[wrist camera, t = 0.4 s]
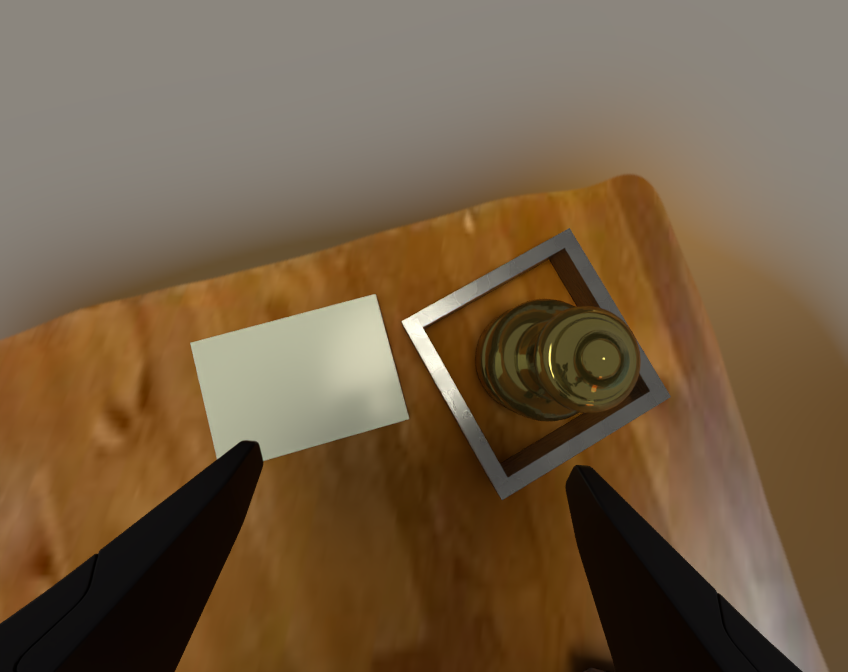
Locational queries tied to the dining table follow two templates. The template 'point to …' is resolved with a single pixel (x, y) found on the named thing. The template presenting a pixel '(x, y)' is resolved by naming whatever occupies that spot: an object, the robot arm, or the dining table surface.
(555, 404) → the brass rounded piece
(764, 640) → the robot arm
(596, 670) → the perforated stone tool
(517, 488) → the grey square frame
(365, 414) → the tile
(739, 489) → the dining table surface
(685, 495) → the dining table surface
